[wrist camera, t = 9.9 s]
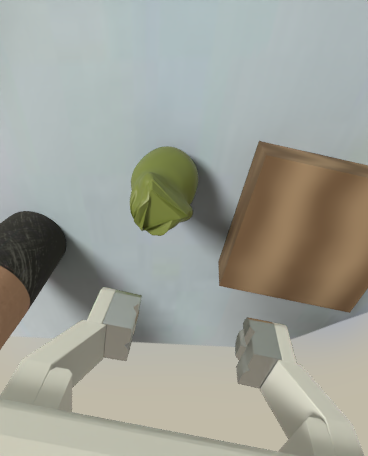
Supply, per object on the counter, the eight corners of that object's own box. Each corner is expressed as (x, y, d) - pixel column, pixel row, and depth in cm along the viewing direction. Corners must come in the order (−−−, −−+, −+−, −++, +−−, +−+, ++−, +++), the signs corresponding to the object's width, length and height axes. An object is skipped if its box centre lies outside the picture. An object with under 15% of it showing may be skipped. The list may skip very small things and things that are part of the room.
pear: (131, 166, 28) (97, 217, 20) (168, 126, 26) (147, 164, 18) (173, 203, 30) (158, 265, 22) (211, 169, 28) (211, 223, 19)
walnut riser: (408, 174, 27) (437, 193, 23) (335, 286, 34) (349, 312, 31) (259, 141, 26) (266, 155, 23) (218, 261, 34) (219, 285, 30)
